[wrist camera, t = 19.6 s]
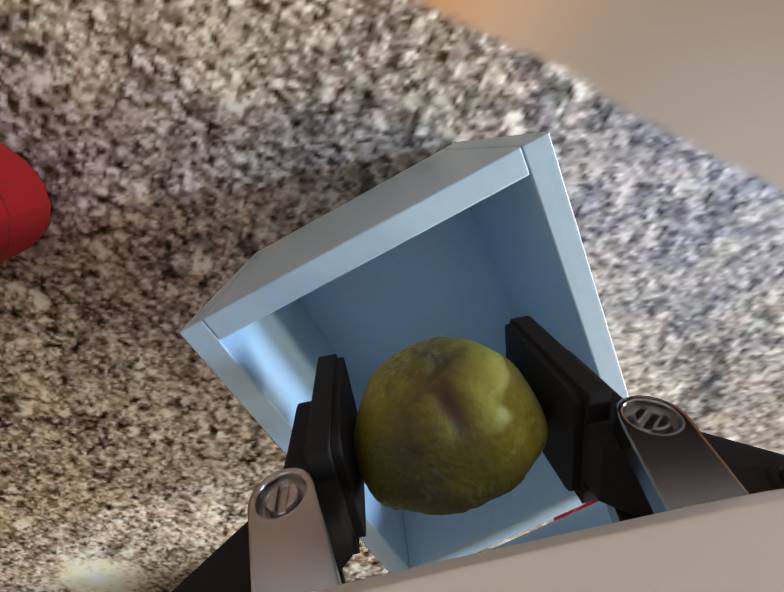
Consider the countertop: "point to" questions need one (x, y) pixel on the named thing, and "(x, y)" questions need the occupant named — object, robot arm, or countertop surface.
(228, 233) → the countertop surface
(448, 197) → the open box
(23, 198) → the plastic cup
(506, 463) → the lime
